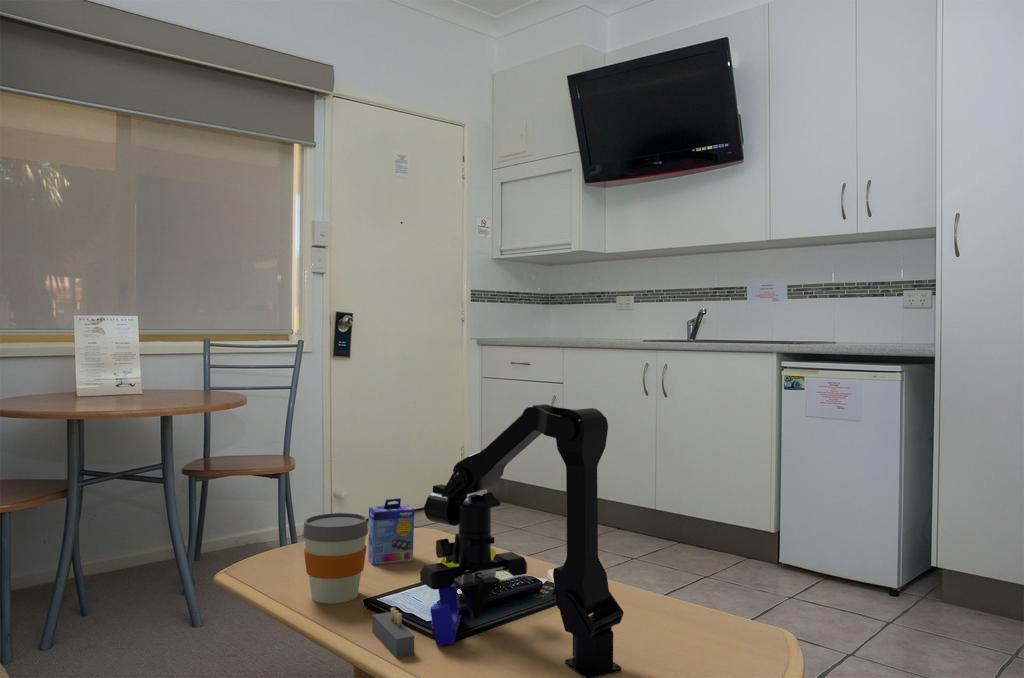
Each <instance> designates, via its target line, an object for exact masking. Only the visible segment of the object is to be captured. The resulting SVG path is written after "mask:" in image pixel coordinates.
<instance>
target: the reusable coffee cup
mask: <svg viewBox="0 0 1024 678" xmlns="http://www.w3.org/2000/svg"><path fill="white" fill-rule="evenodd" d="M367 518H368V517H366V516H364V515H362V514H359V513H352V512H333V513H332V512H331V513H322V514H316V515H312V516H310V517H309V516H308V518H306V519H304V523H303V530H302V532H303V533H302V537H303V538H304V542H305V543H304V545H305V548H304V550H303V554H304V563H305V569H306V570H305V571H306V575H308V577H309V579H308V580H309V586H310V593H311V599H312V600H313V601H314V602H316V603H320V604H342V603H346V602H350V601H353V600H354V599H356V598H358V596H359V589H360V582H361V574H362V572H363V571H364V568H365V561H366V554H367V553H366V552H367V546H366V537H367V535H369V527H368V519H367Z"/></svg>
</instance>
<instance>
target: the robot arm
mask: <svg viewBox="0 0 1024 678" xmlns="http://www.w3.org/2000/svg"><path fill="white" fill-rule="evenodd" d="M608 432H609V424H608V419H607V417H606V416H605V415H604V414H603V413H602V412H601V411H600V410H598V409H597V408H594V407H589V408H579V409H578V408H577V409H572V408H564V407H558V406H552V405H550V404H543V403H542V404H533V405H529V406H527V407H526V408H525V409H524V410H523V412H522V414H520V416H518V418H516V419H515V420H514V421H513V422H512V423H511V424H510V425H509V426H508V427H506V428H505V429H504V430H503V431H502V432H501V433H500V434H499V435H497V437H496V438H495V439H493V441H491V442H490V443H489V444H488V445H487V446H486V447H485V448H483V449H481V450H480V451H477V452H475V453H473V454H470V455H468V456H467V457H464V458H463V459H461V460H459V461H458V462H456V464H455V465H454V467H453V469H452V471H453V472H452V474H451V476H450V477H449V480H448V481H447V483H446V485H445V484H436V485H433V486H432V492H431V493H430V494H429V495H428V496H427V498H426V501H425V504H424V506H423V509H424V511H423V512H424V514H425V515H424V516H425V517H426V518H427V520H429V521H431V522H434V523H439V524H443V525H448V526H451V527H457V526H458V533H455V536H454V541H453V542H450V541H449V539H448V538H440V539H437V540H436V541H435V552H436V558H437V559H441V558H443V557H445V561H446V562H453V563H454V564H459V566H457V567H451V568H450V567H448V566H446V565H445V564H443V563H439V562H435V563H431V564H424V565H423V566H422V568H421V570H420V573H419V576H420V577H419V581H420V582H421V583H422V584H423V585H425V586H426V587H428V588H430V589H431V590H439V589H443V588H448V587H451V586H452V584H453V583H454V584H456V585H457V586H459V587H460V589H461V591H462V593H463V595H464V596H463V599H464V600H465V603H466V606H467V609H468V612H469V614H470V615H469V616H470V618H471V619H472V620H477V619H479V617H480V614H481V613H482V611H483V609H484V606H485V604H486V603H487V600H488V598H489V596H490V594H491V593H492V591H493V589H494V587H495V585H497V584H498V585H499V584H500V579H499V578H497V577H496V575H497V572H501V571H507V570H508V573H509V575H511V576H513V577H516V576H521V575H527V574H528V561H527V560H526V558H525V557H524V556H521V555H519V554H517V553H515V552H514V551H508V552H507V551H506V552H503V553H502V552H500V553H496V555H495V556H494V560H491V548H492V545H493V544H495V537H494V536H492V508H496V507H500V506H501V504H502V503H501V501H500V500H499V499H498V498H497V497H496V496H495V495H494V494H493V492H491V491H490V492H486V493H483V494H482V495H480V494H476V493H479V492H482V491H487V490H491V489H492V488H494V487H495V485H497V483H498V482H499V480H500V479H501V478H502V476H503V475H504V471H505V468H506V467H507V465H508V464H509V463H510V462H511V461H512V460H513V459H514V458H515V457H518V455H519V454H520V453H521V452H523V451H524V450H525V449H526V448H527V447H528V446H529V445H530V444H532V443H533V442H534V441H535V440H536V439H537V438H539V436H541V435H544V436H546V437H549V438H554V439H555V441H556V448H557V451H558V453H559V455H560V457H561V459H562V461H563V463H564V465H565V478H566V479H565V485H566V487H565V491H566V503H565V505H566V510H565V512H566V515H565V516H566V517H565V518H566V558H565V561H564V564H563V565H561V566H557V567H555V568H553V569H554V571H553V579H554V590H553V591H552V593H551V594H552V596H555V603H556V607H557V609H558V610H559V613H560V616H561V621H562V625H563V627H564V632H567V633H570V634H571V635H572V658H567V659H565V660H564V664H565V665H566V666H567V667H569V668H570V669H572V670H573V671H575V672H576V673H577V674H579V675H581V676H582V677H584V678H598V677H601V676H605V675H610V674H613V673H618V672H621V671H622V667H621V665H619V664H617V663H616V662H614V631H613V629H612V628H613V627H614V626H616V625H620V623H621V622H622V619H623V616H624V614H625V613H624V610H623V609H622V607H621V606H620V605H619V603H618V602H617V600H616V599H615V598H614V595H612V593H611V592H610V588H609V582H608V581H609V580H608V575H607V572H606V569H605V568H604V566H603V564H602V562H601V560H600V558H599V532H598V531H599V529H598V528H599V527H598V526H599V525H598V524H599V523H598V521H599V519H598V517H599V516H598V515H599V512H598V505H599V504H598V501H599V500H598V468H599V467H598V465H599V462H600V461H601V459H602V456H603V453H604V451H605V449H606V446H607V438H608ZM470 494H471V495H470ZM468 495H469V496H468ZM465 570H469V571H465Z"/></svg>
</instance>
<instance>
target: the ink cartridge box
mask: <svg viewBox="0 0 1024 678" xmlns="http://www.w3.org/2000/svg"><path fill="white" fill-rule="evenodd" d="M391 502H395V503H391ZM396 502H397V503H396ZM401 502H402V498H398V497H397V498H389V499H385V503H384V505H381V506H379V505H378V506H372V507H371V506H370V507H368V538H367V539H368V542H367V543H368V544H367V545H368V546H367V547H368V548H367V551H368V552H367V559H368V561H369V562H370V563H371V565H372V566H376V565H387V564H394V563H406V562H412V561H414V536H415V535H414V532H415V531H414V530H415V526H414V525H415V509H414V507H412V506H411V505H410V504H401Z"/></svg>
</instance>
